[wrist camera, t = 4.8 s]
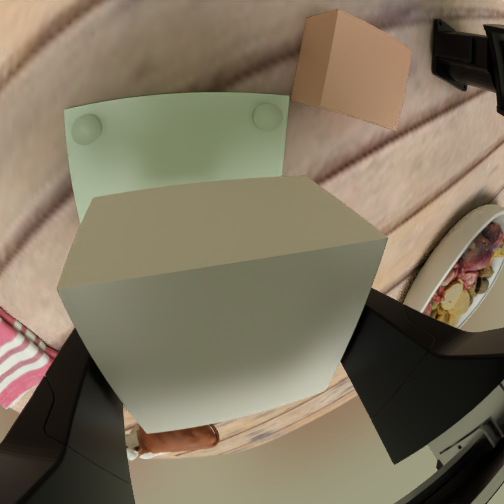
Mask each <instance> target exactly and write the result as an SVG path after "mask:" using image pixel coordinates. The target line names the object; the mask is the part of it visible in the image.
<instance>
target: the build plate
mask: <svg viewBox="0 0 504 504" xmlns="http://www.w3.org/2000/svg"><path fill="white" fill-rule="evenodd" d="M288 107H289V96H286V95H276V94H262V93H241V92H193V93H172V94H159V95H148V96H139V97H131V98H123V99H116V100H110V101H104V102H98V103H93V104H87V105H82V106H78V107H73V108H69V109H65V110H64V124H65V135H66V145H67V153H68V161H69V168H70V174H71V180H72V186H73V192H74V197H75V202H76V207H77V211H78V216H79V220H80V225H81V223H82V220H83V218H84V216H85V214H86V211H87V209H88V207H89V205H90V203H91V201H92V199H93V197H99V196H105V195H110V194H116V193H123V192H129V191H136V190H142V189H150V188H157V187H165V186H173V185H181V184H190V183H199V182H210V181H220V180H232V179H246V178H261V177H280V176H282V170H283V160H284V150H285V140H286V129H287V118H288Z"/></svg>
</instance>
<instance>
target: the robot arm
mask: <svg viewBox="0 0 504 504" xmlns="http://www.w3.org/2000/svg"><path fill="white" fill-rule="evenodd" d="M483 27H484V30H485V31H486V35H487V36H485V35H479V34H472V33H464V32H456V31H455V30H454V29H453V28H451V27H450V26H449V25H447V24H446V23H445V22H443V21H442V20H441V19H435V21H434V56H433V74H434V75H435V76H437V77H439V78H441V79H443V80H444V81H446V82H448V83H450V84H451V85H453V86H455V87H456V88H458V89H460V90H461V91H466V90H467V85H471V86H474V87H478V88H481V89H485V90H488V91H491V92H494V93H496V96H497V112H498V113H499V114H501V115H503V116H504V25H499V24H483ZM340 362H341V363H342V365H343V367H344V369H345V371H346V373H347V375H348V377H349V378H350V380H351V382H352V384H353V386H354V388H355V390H356V392H357V394H358V395H359V397H360V399H361V401H362V403H363V405H364V407H365V409H366V411H367V413H368V414H369V417H370V418H371V421H372V423H373V425H374V426H375V429H376V431H377V432H378V434H379V436H380V438H381V440H382V442H383V444H384V446H385V448H386V450H387V452H388V454H389V456H390V458H391V460H392V462H393V463H394V465H395V464H397V463H399V462H400V461H402V460H404V459H405V458H407V457H409V456H410V455H412V454H414V453H415V452H416V451H418V450H420V449H421V448H423V447H424V446H426V445H428V446H429V448H430V449H431V451H432V453H433V454H434V456H435V457H436V459H437V460H438V461H437V466H436V468H437V469H438V471H437V472H436V473H435V474H433V475H432V476H431V477H430V478H429V479H427V480H426V481H425V482H423V483H422V484H421V485H420V486H418V487H417V488H416V489H414V490H413V491H412V492H410V493H409V494H408V495H406V496H405V497H403V498H402V499H400V500H399V501H397V502H396V503H395V504H487V503H488V501H489V500H490V499H491V498H492V497H493V496H494V494H495V493H496V492H497V491H498V489H499V488H500V487H501V486H502V484H503V483H504V328H499V329H494V330H488V331H483V332H466V331H463V330H460V329H458V328H456V327H453V326H451V325H449V324H446V323H444V322H441V321H439V320H437V319H434V318H432V317H430V316H428V315H425V314H423V313H421V312H419V311H417V310H415V309H413V308H411V307H409V306H407V305H405V304H402V303H401V302H399V301H397V300H395V299H393V298H391V297H389V296H387V295H385V294H383V293H381V292H379V291H377V290H375V289H373V288H371V290H370V292H369V295H368V298H367V300H366V303H365V305H364V308H363V310H362V313H361V315H360V318H359V320H358V322H357V325H356V327H355V329H354V332H353V334H352V336H351V339H350V341H349V343H348V345H347V347H346V350H345V352H344V354H343V356H342V358H341V360H340ZM0 504H135V500H134V495H133V490H132V485H131V479H130V472H129V465H128V458H127V449H126V440H125V429H124V416H123V403H122V401H121V400H120V399H119V397H118V396H117V395H116V393H115V392H114V390H113V389H112V387H111V386H110V384H109V383H108V381H107V380H106V379H105V377H104V375H103V374H102V372H101V371H100V369H99V368H98V366H97V365H96V363H95V361H94V360H93V358H92V356H91V355H90V353H89V351H88V350H87V348H86V346H85V344H84V343H83V341H82V339H81V337H80V336H79V334H78V332H77V330H76V328H74V330H73V331H72V333H71V334H70V336H69V337H68V339H67V340H66V342H65V343H64V345H63V346H62V348H61V349H60V351H59V352H58V354H57V355H56V357H55V359H54V360H53V362H52V363H51V365H50V367H49V368H48V370H47V372H46V373H45V376H43V378H42V380H41V381H40V383H39V385H38V387H37V388H36V390H35V391H34V393H33V395H32V397H31V398H30V400H29V401H28V403H27V404H26V406H25V407H24V409H23V410H22V412H21V413H20V415H19V416H18V418H17V419H16V421H15V422H14V424H13V425H12V427H11V429H10V430H9V432H8V433H7V435H6V437H5V438H4V440H3V441H2V442H1V443H0Z"/></svg>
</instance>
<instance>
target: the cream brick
mask: <svg viewBox="0 0 504 504" xmlns="http://www.w3.org/2000/svg"><path fill="white" fill-rule="evenodd" d="M387 240H388V237H387V236H385V235H384V234H383V233H382V232H380V231H379V230H378V229H377V228H375V227H374V226H373V225H372V224H370V223H369V222H368V221H367V220H365V219H364V218H363V217H361V216H360V215H359V214H357V213H356V212H355V211H354V210H352V209H351V208H350V207H348V206H347V205H346V204H344V203H343V202H342V201H340V200H339V199H337V198H336V197H335V196H333V195H332V194H331V193H329V192H328V191H326V190H325V189H324V188H322V187H321V186H319V185H318V184H316V183H315V182H314V181H312V180H311V179H309V178H308V177H306V176H280V177H261V178H246V179H232V180H220V181H210V182H199V183H190V184H181V185H173V186H165V187H157V188H150V189H142V190H136V191H129V192H123V193H116V194H110V195H105V196H99V197H93V199H92V201H91V203H90V205H89V207H88V209H87V211H86V214H85V216H84V218H83V220H82V223H81V225H80V227H79V230H78V232H77V234H76V237H75V239H74V242H73V244H72V247H71V249H70V252H69V255H68V257H67V260H66V263H65V266H64V268H63V271H62V274H61V277H60V280H59V283H58V286H57V291H58V294H59V296H60V298H61V300H62V302H63V304H64V306H65V308H66V311H67V313H68V315H69V317H70V319H71V320H72V322H73V324H74V326H75V328H76V330H77V332H78V334H79V336H80V337H81V339H82V341H83V343H84V344H85V346H86V348H87V350H88V351H89V353H90V355H91V356H92V358H93V360H94V361H95V363H96V365H97V366H98V368H99V369H100V371H101V372H102V374H103V375H104V377H105V379H106V380H107V381H108V383H109V384H110V386H111V387H112V389H113V390H114V392H115V393H116V395H117V396H118V397H119V399H120V400H121V401H122V403H123V404H124V406H125V407H126V408H127V410H128V411H129V412H130V413H131V415H132V416H133V417H134V419H135V420H136V421H137V422H138V424H139V425H140V426H141V427H142V428H143V430H144V431H145V432H146V433H147V434H149V433H158V432H166V431H173V430H180V429H186V428H192V427H198V426H203V425H209V424H214V423H218V422H223V421H227V420H232V419H236V418H240V417H244V416H248V415H252V414H256V413H259V412H263V411H266V410H270V409H273V408H277V407H280V406H283V405H286V404H289V403H292V402H295V401H298V400H301V399H304V398H307V397H310V396H313V395H316V394H318V393H321V392H324V391H325V390H326V388H327V386H328V384H329V383H330V381H331V379H332V377H333V375H334V373H335V371H336V369H337V367H338V364H339V362H340V360H341V358H342V356H343V354H344V352H345V350H346V347H347V345H348V343H349V341H350V339H351V336H352V334H353V332H354V329H355V327H356V325H357V322H358V320H359V318H360V315H361V313H362V310H363V308H364V305H365V303H366V300H367V298H368V295H369V292H370V290H371V287H372V284H373V282H374V279H375V276H376V273H377V270H378V267H379V264H380V262H381V259H382V256H383V252H384V249H385V246H386V243H387Z"/></svg>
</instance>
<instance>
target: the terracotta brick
mask: <svg viewBox="0 0 504 504" xmlns="http://www.w3.org/2000/svg"><path fill="white" fill-rule="evenodd" d="M412 51H413V50H412V49H411V48H409V47H408V46H406V45H405V44H403V43H401V42H400V41H398V40H397V39H395V38H393V37H392V36H390V35H388V34H387V33H385V32H383V31H381V30H380V29H378V28H376V27H374V26H372V25H370V24H369V23H367V22H365V21H363V20H361V19H359V18H357V17H355V16H353V15H351V14H349V13H346V12H344V11H342V10H340V9H336V10H332V11H329V12H325V13H321V14H318V15H315V16H311V17H308V18H306V23H305V29H304V34H303V39H302V44H301V49H300V54H299V60H298V65H297V70H296V75H295V80H294V85H293V90H292V95H291V100H290V101H293V102H297V103H302V104H306V105H310V106H314V107H318V108H322V109H326V110H330V111H333V112H337V113H340V114H344V115H347V116H350V117H354V118H357V119H360V120H363V121H366V122H370V123H373V124H376V125H379V126H382V127H385V128H388V129H391V130H394V131H396V130H397V126H398V122H399V118H400V113H401V109H402V105H403V100H404V95H405V90H406V85H407V80H408V75H409V69H410V63H411V57H412Z"/></svg>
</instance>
